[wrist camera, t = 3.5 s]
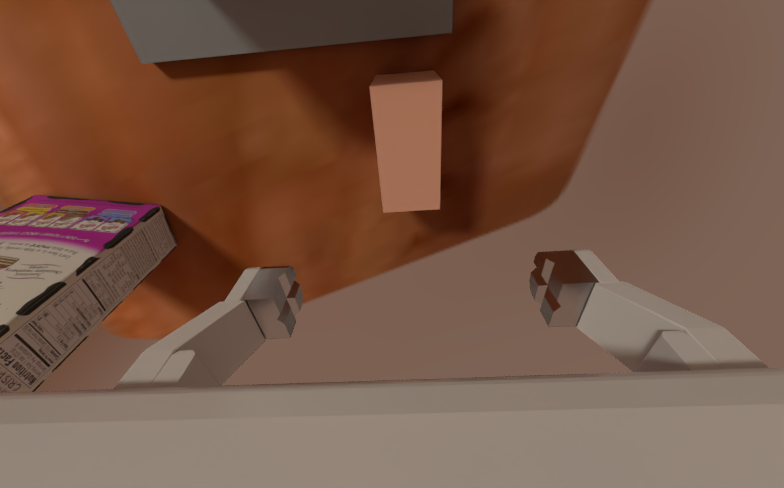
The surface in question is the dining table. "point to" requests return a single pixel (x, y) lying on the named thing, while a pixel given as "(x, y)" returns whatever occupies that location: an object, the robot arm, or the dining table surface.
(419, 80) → the terracotta brick
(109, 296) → the candy bar box
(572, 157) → the dining table surface
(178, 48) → the white stack on tray
